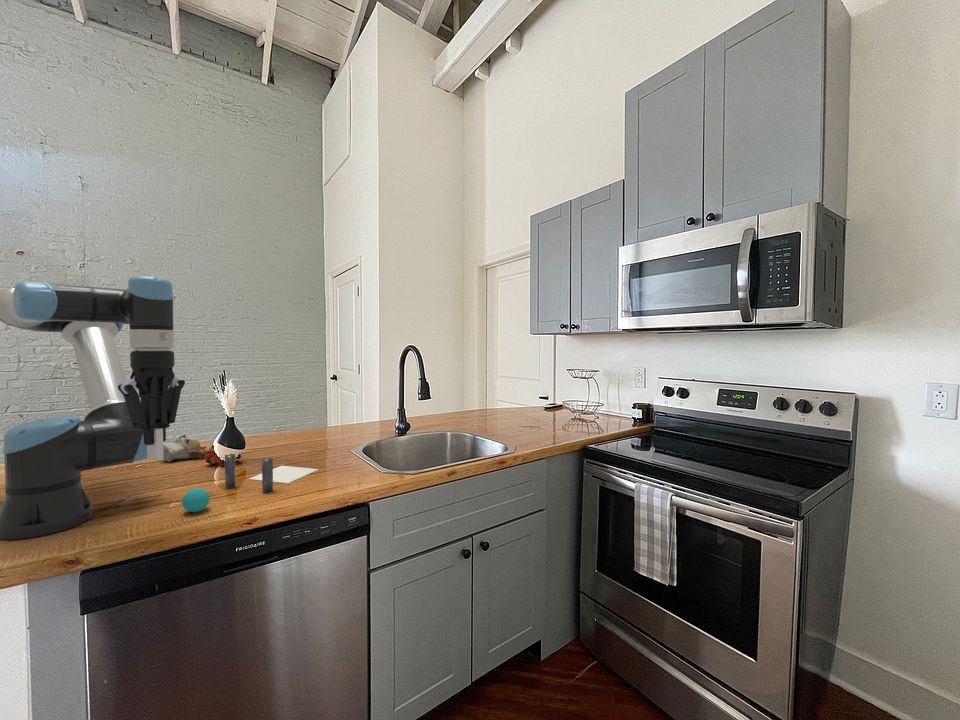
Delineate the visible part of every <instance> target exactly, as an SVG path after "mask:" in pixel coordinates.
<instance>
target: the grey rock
mask: <svg viewBox="0 0 960 720" xmlns="http://www.w3.org/2000/svg"><path fill="white" fill-rule="evenodd" d="M206 448H207V446H201V444H200V441H199V440H198V439H196V438H194V437H187V435H185V434H184V435H180V436H179V437H177V438H176V439H175V440H174V441H172V442H166V441H165V442H163V454H164V458H163V461H165V462H166V461H168V462H167V463H171V462H172V461H173V460H190V459H189V458H192V459H194V458H201V456H202V454H203V453H204V452H206V451H207V450H208V449H206Z"/></svg>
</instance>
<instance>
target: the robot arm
mask: <svg viewBox="0 0 960 720" xmlns="http://www.w3.org/2000/svg"><path fill="white" fill-rule="evenodd" d="M174 298H175V297H174V292H173V283H172V282H171V280H169V279H166V278H163V277H157V276H142V275H140V276H138V275H136V276H135V275H134V276H130V277H129V279H128V285H127V289H122V288H110V287H99V286H98V287H97V286H85V285H84V286H83V285H74V284H73V285H72V284H62V283H54V282H53V283H51V282H50V283H49V282H45V281H19V282H17V283H16V284H15V285H14V287H13V288H8V289H6V290H3V291H0V321H1V323H4V324H6V325H8V326H10V327H14V328H17V329H21V330H25V331H32V332H41V333H43V332H44V333H61V336H62V339H63V340H64V341H66V342H67V343H69V344H72V347H73V350H74V351H73V352H74V356H75V359H76V362H77V366H78V370H79V373H80V378H81V382H82V385H83V388H84V392H85V396H86V399H87V403H88V407H89V411H88V412H87V413H86V414H85V416H84V419H83V420H81V419H80V418H79V416H77V415H75V414H73V415H72V414H71V415H61V416H54V417H53V416H51V417H47V418H41V419H36V420H31V421H28V422H23V423H21V424H20V423H19V424H17V425H14V426H13V427H11V428H9V429H8V430H7V431H6V432H5V433H4V436H3V447H2V454H3V456H4V459H3V460H4V488H5V493H4V494H5V497H4V500H3V503H2V506H1V508H0V540H4V541H5V540H12V541H13V540H24V539H31V538H36V537H41V536H47V535H50V534H55V533H58V532H62V531H65V530H68V529H69V530H70V529H71V528H74V527H77V526H79V525H81V524H83V523H85V522H88V521H89V520H90V519H91V518H92V517H93V505H92V503H91V501H90V499H89V498H88V495H87V494H86V491H85V490H84V487H83V486H82V481H81V480H82V475H81V474H82V472H86V471H90V470H97V469H102V468H107V467H112V466H113V467H114V466H118V465H119V466H120V465H123V464H124V465H126V464H133V463H135V462H139V461H142V460H155V461H157V460H162V459H164V454H163V442H166V440H167V429H168V428H170V426H171V424H175V422H176V417H177V413H178V409H179V408H178V407H179V404H180V398H181V393H182V390H183V388H184V386H185V384H186V381H185V379H179V378H177V377H176V376H175V373H174V371H173V368H174V367H175V352H174V351H173V350H172V349H173V348H175V347H174V346H175V340H174V339H175V337H174V336H175V335H174V333H175V332H174V330H175V329H174ZM124 325H129V348H131V349H133V351H131V352H130V353H129V354H130V355H129V358H130V359H129V360H130V362H129V363H130V368H131V369H132V372H131V375H130V377H129V378H130V380H128V378H127V376H126V373H125V369H124V367H123V363H122V361H121V357H120V356H121V355H120V353H119V350H118V347H117V344H116V341H115V338H116V337H117V335H118V334H119V332H121V331H122V328H123V326H124Z"/></svg>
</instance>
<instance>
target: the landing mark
mask: <svg viewBox="0 0 960 720" xmlns="http://www.w3.org/2000/svg"><path fill="white" fill-rule="evenodd" d="M317 471H319V468H309V467H299V466H290V465H289V466H288V465H279V466H277V467H275V468H274V467H273V483H277V484H279V483H280V484H287V485H288V484H292V483H293V482H296V481H298V480H300V479H301V478H303V477H306V476H308V475H310V474H311V475H312V474H313V473H315V472H317ZM248 480H251V481H260V482H262V473H259V474H257V475H253V476H251V477H248Z"/></svg>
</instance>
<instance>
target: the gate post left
mask: <svg viewBox="0 0 960 720" xmlns="http://www.w3.org/2000/svg"><path fill="white" fill-rule="evenodd" d="M236 473H237V471H236V460H235V454H230V455H225V465H224V488H225V489H226V490H228V489H229V490H230V489H234V488H236V486H237V485H236V484H237V483H236V482H237V481H236V480H237V479H236V478H237V476H236Z"/></svg>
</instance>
